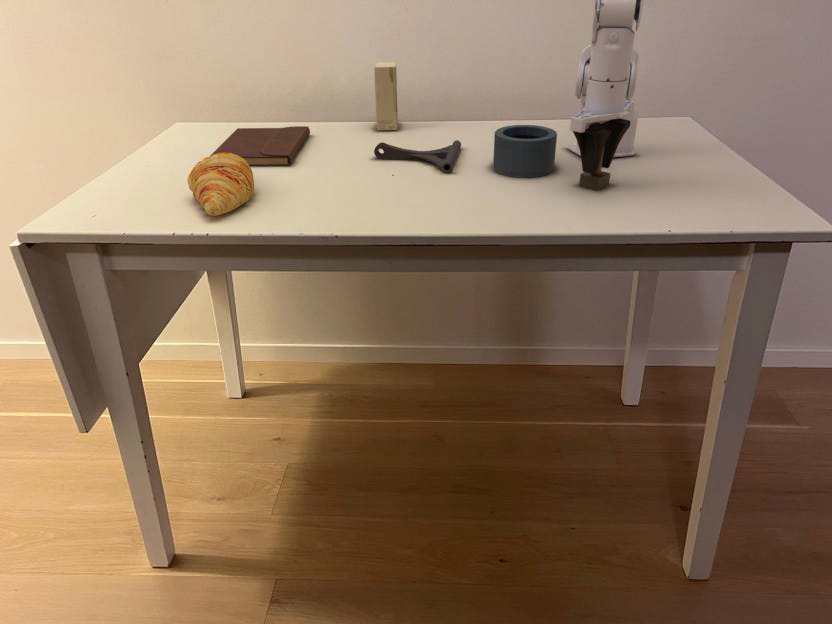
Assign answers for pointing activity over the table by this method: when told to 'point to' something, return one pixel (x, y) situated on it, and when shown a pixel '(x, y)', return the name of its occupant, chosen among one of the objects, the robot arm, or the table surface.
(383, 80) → the cosmetic box
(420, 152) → the bracket
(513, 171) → the jar
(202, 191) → the croissant
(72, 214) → the table surface
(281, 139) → the notebook
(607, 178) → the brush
